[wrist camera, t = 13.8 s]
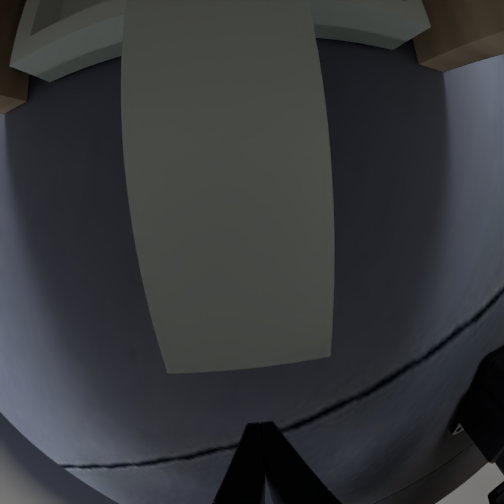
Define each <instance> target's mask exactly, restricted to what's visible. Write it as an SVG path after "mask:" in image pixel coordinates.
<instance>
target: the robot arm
mask: <svg viewBox="0 0 504 504" xmlns="http://www.w3.org/2000/svg"><path fill="white" fill-rule="evenodd" d="M462 430H465V431H466V433H467V434H468V435H469V436H470V438H471V439H472V440H473V442H474V443H475V444H476V446H477V447H478V448H479V450H480V451H481V452H482V454H483V455H484V456H485V458H486V459H487V461H488V462H489V463H494V462H495V463H496V465H497V466H498V467H499V469H500V470H501V472H502V473H503V475H504V346H502V347H501V348H499V349H497V350H495V351H494V352H492V353H490V354H489V355H488V356H487V357H486V359H485V360H484V362H483V364H482V367H481V369H480V372H479V374H478V376H477V379H476V381H475V383H474V385H473V387H472V390H471V392H470V394H469V396H468V398H467V400H466V402H465V404H464V406H463V408H462V410H461V411H460V413H459V415H458V417H457V419H456V421H455V422H454V424H453V426H452V427H451V429H450V432H451V433H452V434H453V435H456V434H457V433H459V432H461V431H462ZM265 474H266V479H267V483H268V487H269V490H270V494H271V497H272V500H273V504H342V503H341V502H340V501H339V500H338V499H337V498H336V497H335V496H334V495H333V494H332V493H331V491H330V490H328V488H327V487H326V486H325V485H324V484H323V483H322V481H321V480H320V479H319V478H318V477H317V476H316V474H315V473H314V472H313V471H312V470H311V469H310V467H309V466H308V465H307V464H306V463H305V461H304V460H303V459H302V458H301V456H300V455H299V454H298V453H297V451H296V450H295V449H294V448H293V446H292V445H291V444H290V443H289V441H288V440H287V439H286V438H285V436H284V435H283V434H282V432H281V431H280V430H279V428H278V427H277V426H276V425H275V423H274V422H273V421H266V422H261V423H258V422H256V423H248V424H247V425H246V427H245V430H244V432H243V435H242V437H241V439H240V442H239V444H238V447H237V449H236V451H235V454H234V456H233V458H232V461H231V463H230V465H229V468H228V470H227V472H226V474H225V477H224V479H223V481H222V483H221V486H220V488H219V490H218V492H217V494H216V496H215V499H214V501H213V502H214V503H212V504H265V484H266V482H265ZM327 490H328V491H327ZM488 499H489V504H504V481H503V482H502V483H501V484H500V485H499V486H497V487H496V488H495V489H494V490H492V491H491V492H490V493H489V495H488Z"/></svg>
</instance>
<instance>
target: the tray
mask: <svg viewBox="0 0 504 504" xmlns="http://www.w3.org/2000/svg"><path fill="white" fill-rule="evenodd" d="M430 27H431V25H430V22H429V19H428V16H427V13H426V11H425V8H424V6H423V3H422V1H421V0H27V1H26V3H25V6H24V9H23V12H22V16H21V19H20V22H19V26H18V29H17V33H16V37H15V41H14V46H13V50H12V55H11V60H10V65H9V66H10V67H13V68H16V69H18V70H21V71H23V72H26V73H28V74H31V75H33V76H36V77H38V78H41V79H43V80H45V81H48V82H51V81H54V80H56V79H58V78H60V77H63V76H65V75H68V74H70V73H73V72H75V71H78V70H80V69H83V68H86V67H89V66H91V65H94V64H97V63H100V62H103V61H106V60H110V59H113V58H116V57H120V56H122V58H121V121H122V140H123V154H124V166H125V176H126V185H127V194H128V202H129V209H130V216H131V223H132V229H133V235H134V241H135V246H136V252H137V257H138V262H139V267H140V272H141V277H142V282H143V286H144V290H145V295H146V299H147V303H148V307H149V311H150V315H151V319H152V323H153V327H154V330H155V334H156V337H157V341H158V344H159V348H160V351H161V355H162V358H163V361H164V364H165V367H166V371H167V374H180V373H202V372H218V371H230V370H241V369H251V368H260V367H268V366H276V365H283V364H290V363H296V362H303V361H309V360H314V359H320V358H325V357H330V356H331V343H332V327H333V306H334V260H335V248H334V203H333V182H332V166H331V152H330V140H329V130H328V120H327V111H326V102H325V94H324V87H323V80H322V73H321V66H320V60H319V54H318V48H317V43H316V38H325V39H334V40H342V41H349V42H355V43H361V44H367V45H372V46H377V47H382V48H386V49H391V50H394V49H395V48H397V47H399V46H400V45H402V44H403V43H405V42H407V41H408V40H410V39H411V38H413V37H415V36H416V35H418V34H420V33H422V32H423V31H425V30H427V29H428V28H430Z"/></svg>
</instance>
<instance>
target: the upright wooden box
mask: <svg viewBox="0 0 504 504" xmlns="http://www.w3.org/2000/svg"><path fill="white" fill-rule="evenodd" d="M26 1H27V0H0V113H1V114H5V113H7V112H9V111H10V110H12V109H14V108H16V107H18V106H19V105H21V104H23V103H25V102H27V95H28V84H29V75H30V74H28V73H26V72H23V71H21V70H18V69H16V68H13V67H10V66H9V65H10V60H11V55H12V50H13V46H14V41H15V37H16V33H17V29H18V26H19V22H20V19H21V16H22V12H23V9H24V6H25V3H26ZM421 1H422V3H423V6H424V8H425V11H426V13H427V16H428V19H429V22H430V25H431V27H430V28H428V29H427V30H425V31H423V32H422V33H420V34H418V35H416V36H415V37H413V38H412V40H413V43H414V47H415V51H416V55H417V59H418V63H419V65H422V66H426V67H429V68H432V69H436V70H439V71H442V72H446V71H449V70H452V69H455V68H458V67H461V66H464V65H467V64H470V63H474V62H477V61H480V60H484V59H487V58H491V57H494V56H498V55H502V54H504V0H421Z"/></svg>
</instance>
